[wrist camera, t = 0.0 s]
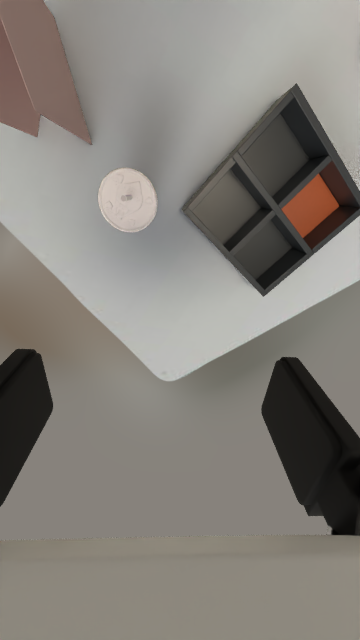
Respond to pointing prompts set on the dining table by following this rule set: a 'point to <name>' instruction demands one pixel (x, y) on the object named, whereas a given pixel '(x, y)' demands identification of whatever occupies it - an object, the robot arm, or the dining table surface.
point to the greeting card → (35, 71)
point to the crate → (276, 195)
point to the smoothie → (127, 200)
